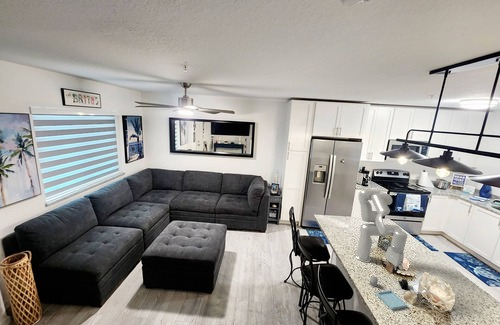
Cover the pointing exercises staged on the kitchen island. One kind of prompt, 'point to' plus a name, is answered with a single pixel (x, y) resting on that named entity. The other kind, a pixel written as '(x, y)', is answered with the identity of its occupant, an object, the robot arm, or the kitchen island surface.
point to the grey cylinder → (373, 281)
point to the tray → (391, 300)
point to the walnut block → (389, 267)
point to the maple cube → (410, 297)
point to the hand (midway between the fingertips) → (391, 270)
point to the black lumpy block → (404, 285)
